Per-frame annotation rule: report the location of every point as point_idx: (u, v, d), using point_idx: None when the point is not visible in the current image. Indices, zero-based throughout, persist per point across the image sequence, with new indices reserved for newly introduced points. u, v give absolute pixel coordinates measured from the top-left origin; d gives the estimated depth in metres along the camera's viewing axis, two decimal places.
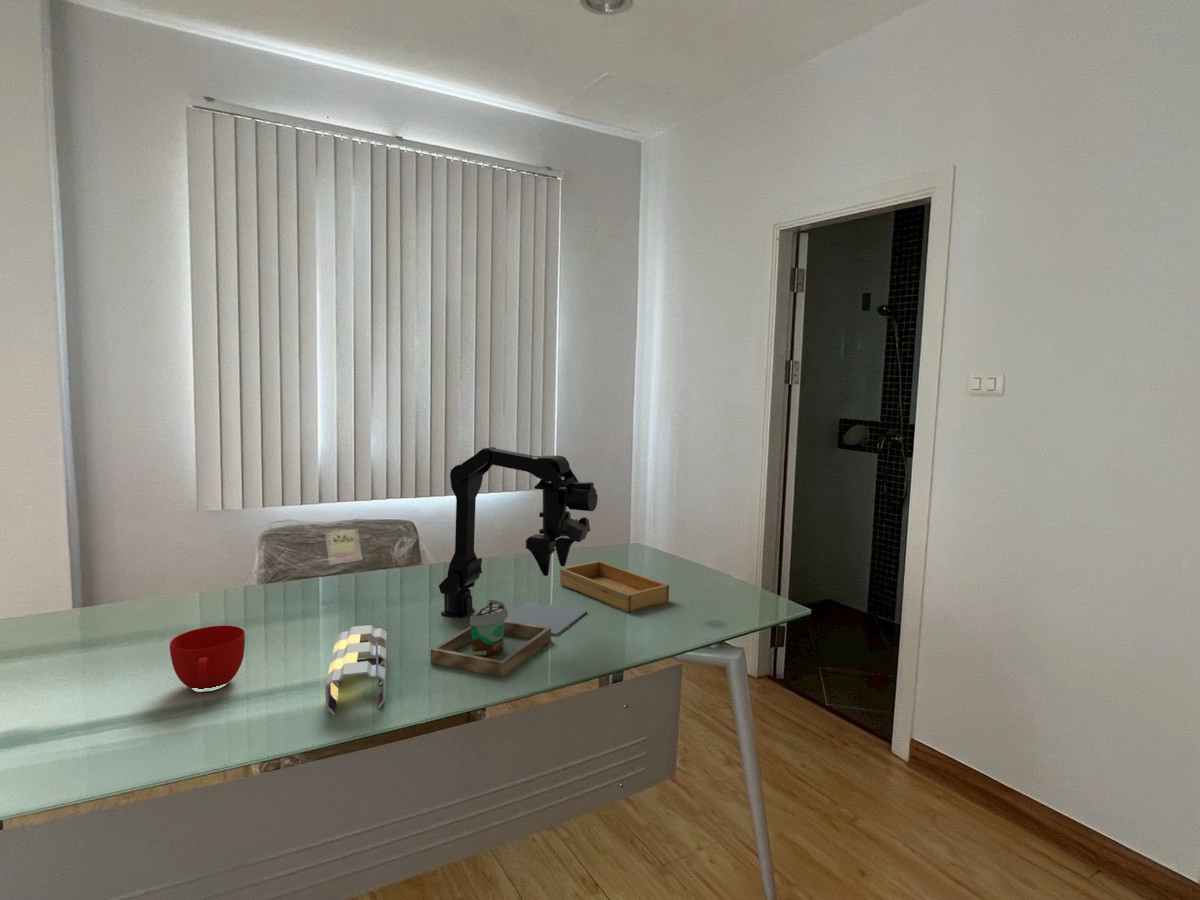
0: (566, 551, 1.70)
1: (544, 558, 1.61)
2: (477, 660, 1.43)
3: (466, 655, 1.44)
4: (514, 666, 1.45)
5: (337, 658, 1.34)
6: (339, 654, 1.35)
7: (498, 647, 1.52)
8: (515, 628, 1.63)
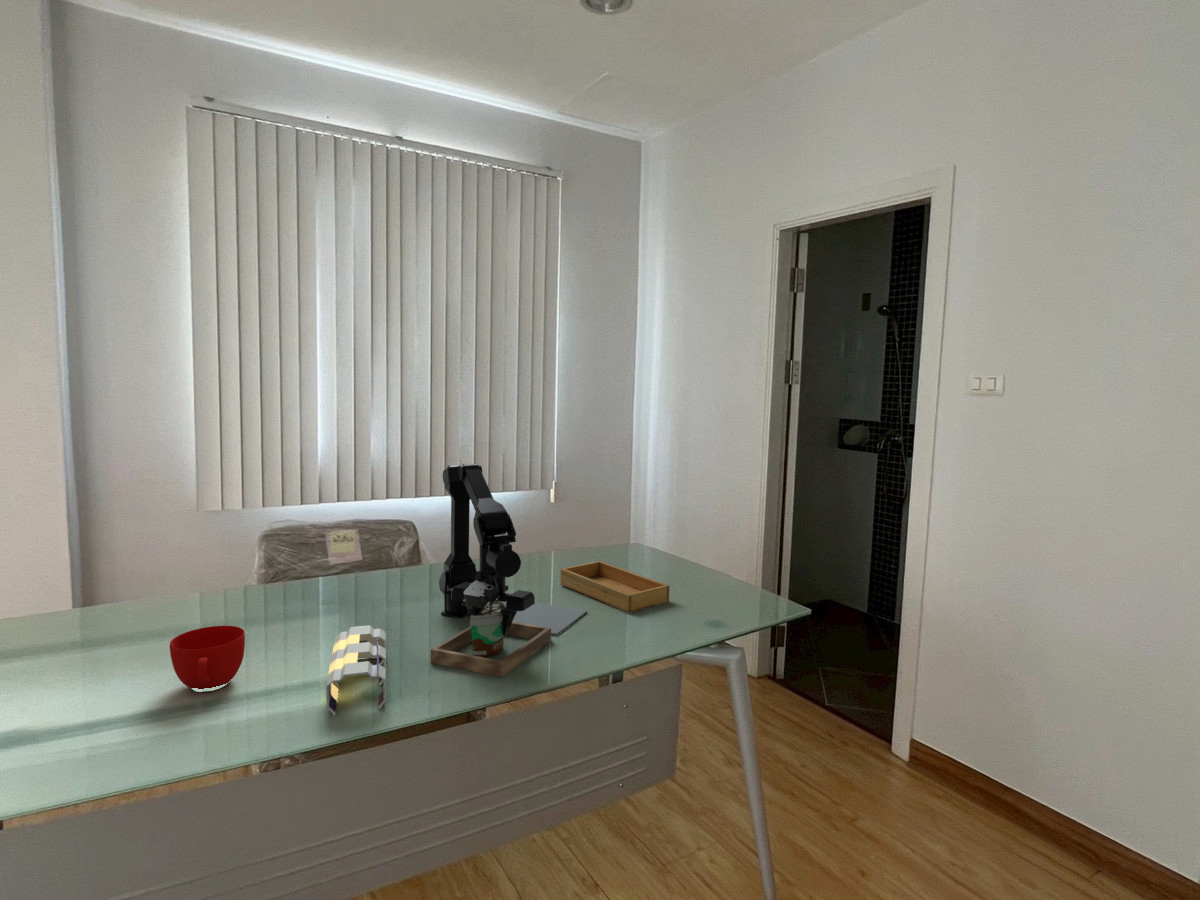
0: None
1: None
2: (477, 660, 1.43)
3: (466, 655, 1.44)
4: (514, 666, 1.45)
5: (337, 658, 1.33)
6: (339, 654, 1.35)
7: (498, 647, 1.52)
8: (515, 628, 1.63)
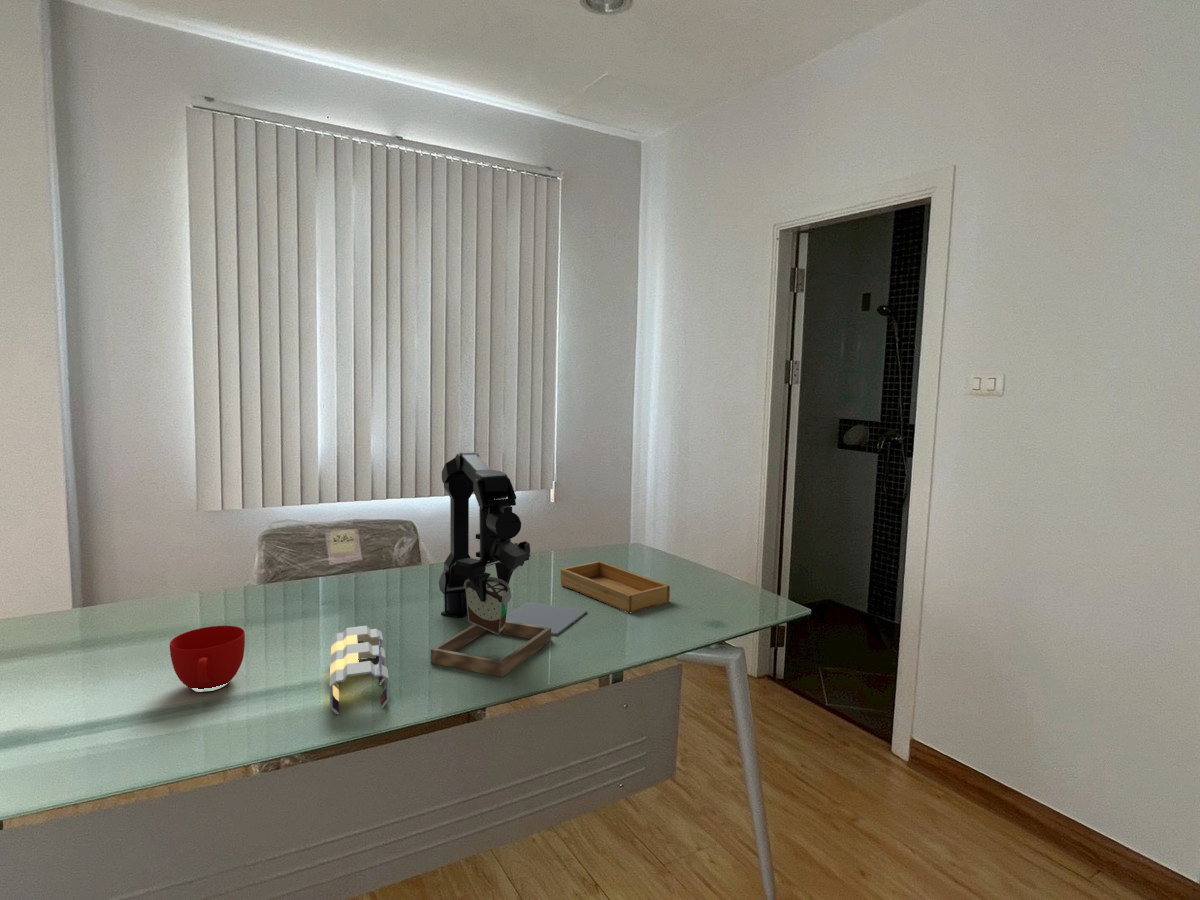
0: (506, 578, 1.55)
1: (479, 583, 1.49)
2: (477, 660, 1.43)
3: (466, 655, 1.44)
4: (514, 666, 1.45)
5: (337, 659, 1.33)
6: (338, 655, 1.35)
7: None
8: (515, 628, 1.63)
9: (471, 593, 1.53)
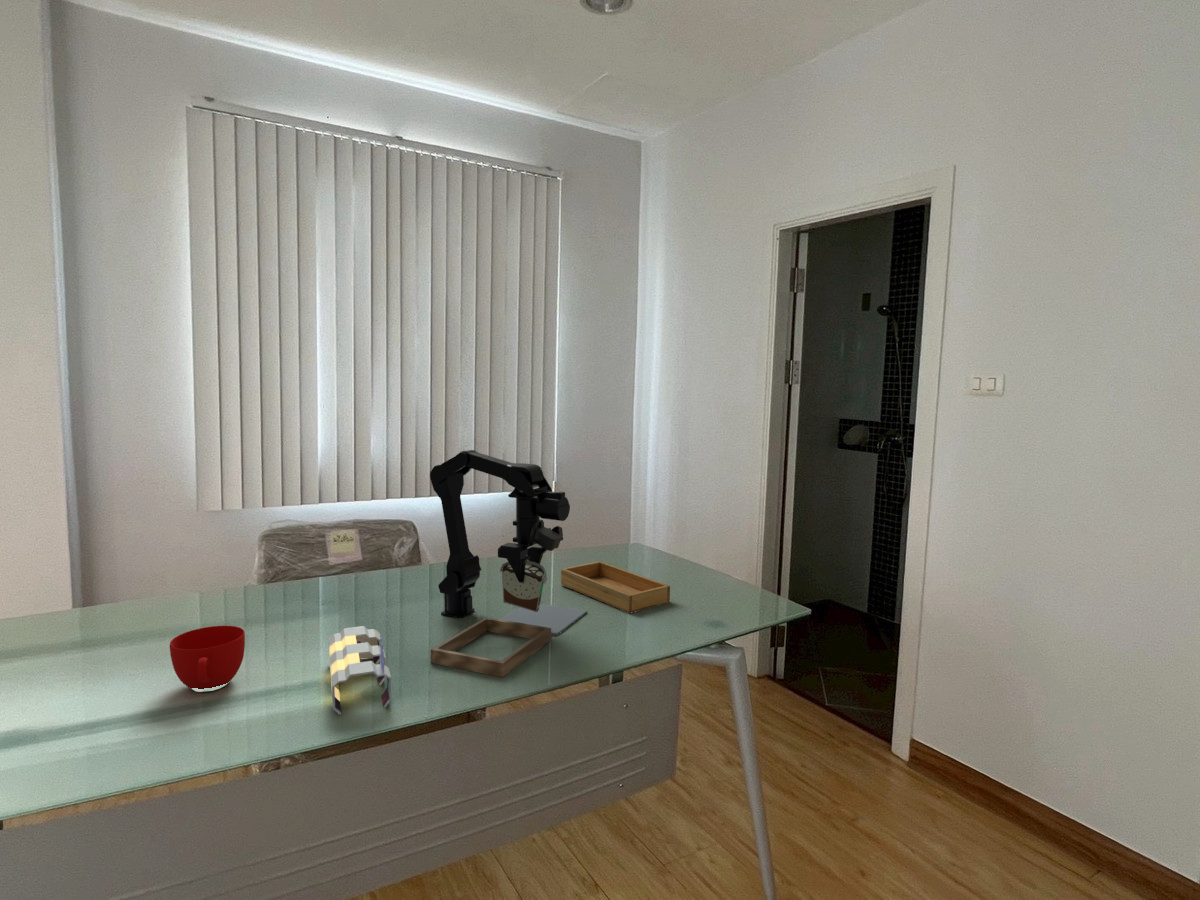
0: (538, 560, 1.70)
1: (519, 565, 1.63)
2: (477, 660, 1.43)
3: (466, 655, 1.44)
4: (514, 666, 1.45)
5: (337, 659, 1.33)
6: (338, 655, 1.35)
7: None
8: (515, 628, 1.63)
9: (508, 575, 1.67)
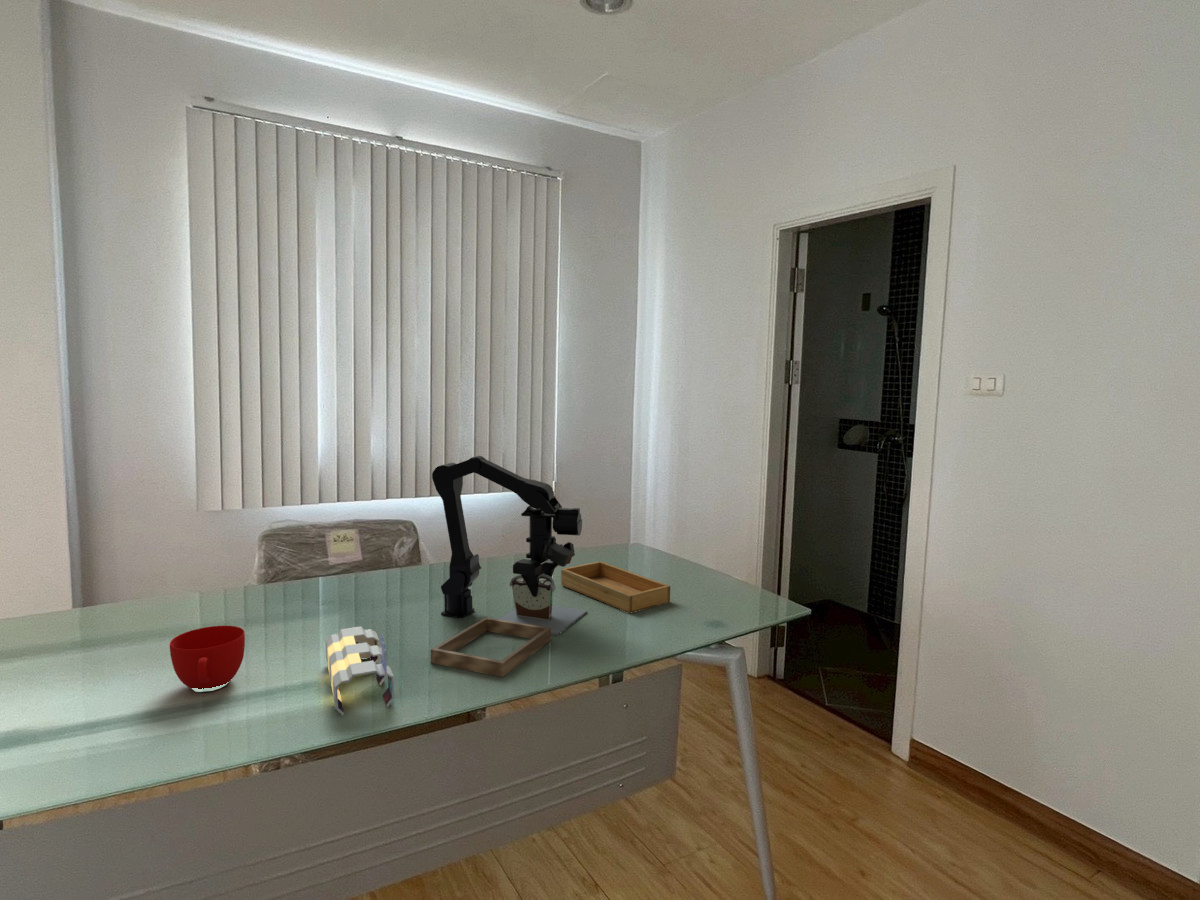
0: (549, 575, 1.77)
1: (533, 580, 1.70)
2: (477, 660, 1.43)
3: (466, 655, 1.44)
4: (514, 666, 1.45)
5: (338, 660, 1.33)
6: (338, 656, 1.35)
7: None
8: (515, 628, 1.63)
9: (518, 589, 1.74)
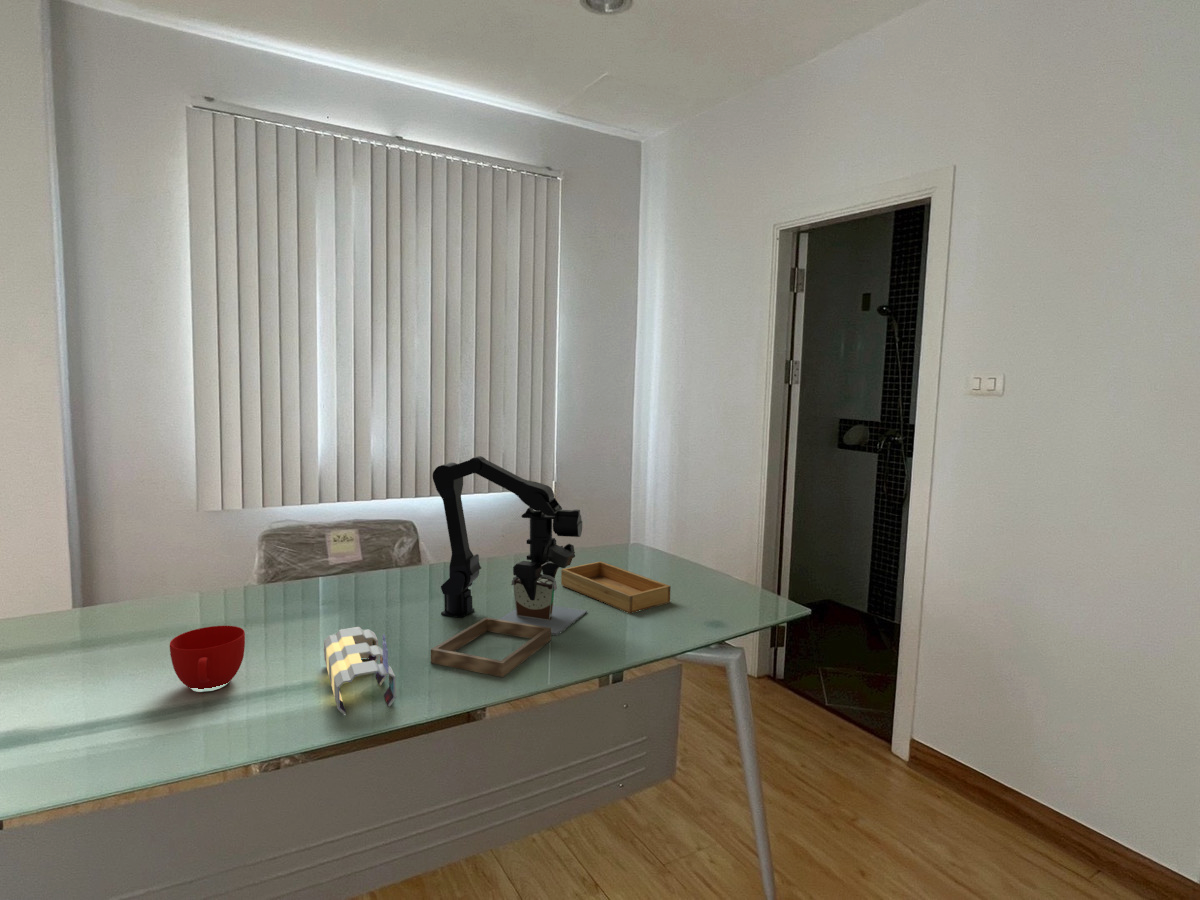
0: (552, 575, 1.78)
1: (531, 583, 1.69)
2: (477, 660, 1.43)
3: (466, 655, 1.44)
4: (514, 666, 1.45)
5: (338, 660, 1.33)
6: (338, 656, 1.34)
7: None
8: (515, 628, 1.63)
9: (519, 588, 1.75)
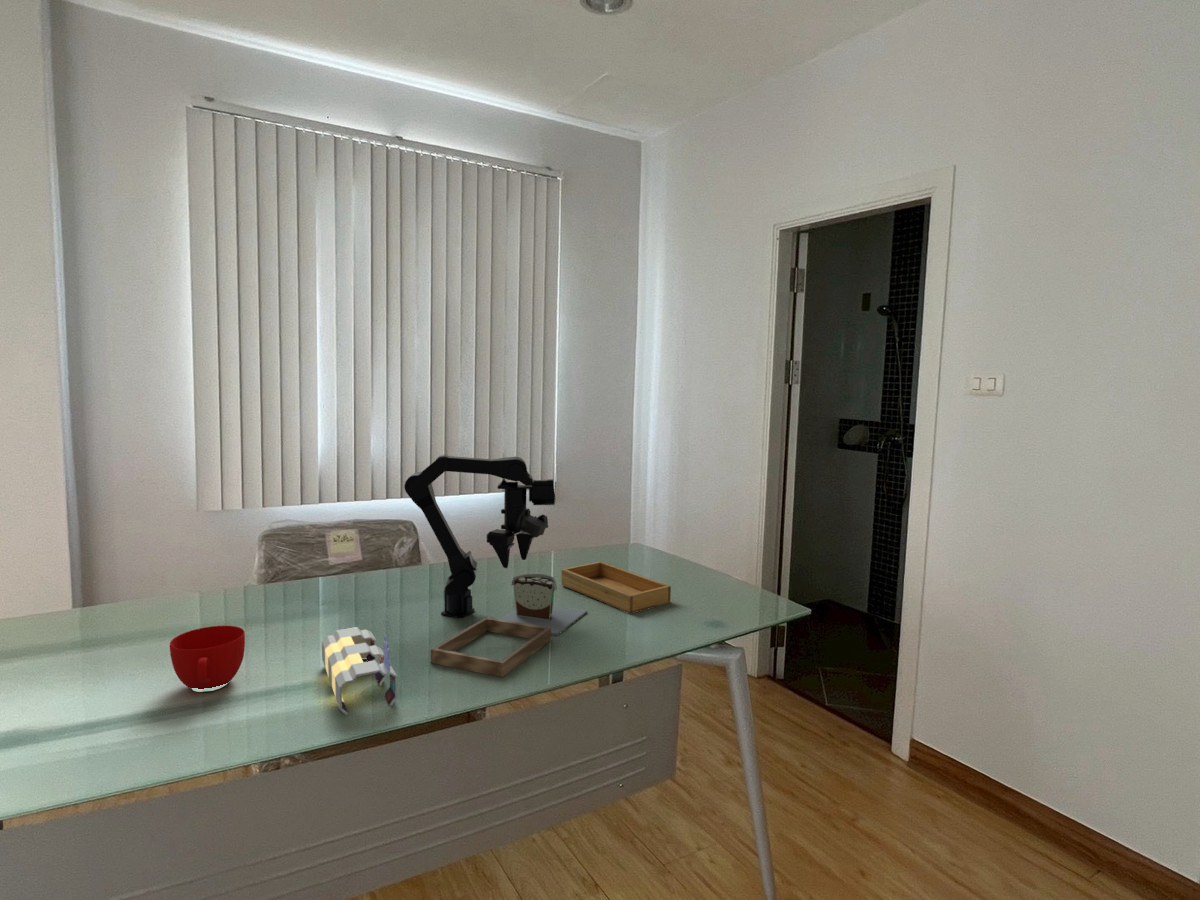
0: (527, 546, 1.83)
1: (504, 551, 1.74)
2: (477, 660, 1.43)
3: (466, 655, 1.44)
4: (514, 666, 1.45)
5: (338, 660, 1.32)
6: (338, 657, 1.34)
7: None
8: (515, 628, 1.63)
9: (519, 588, 1.75)
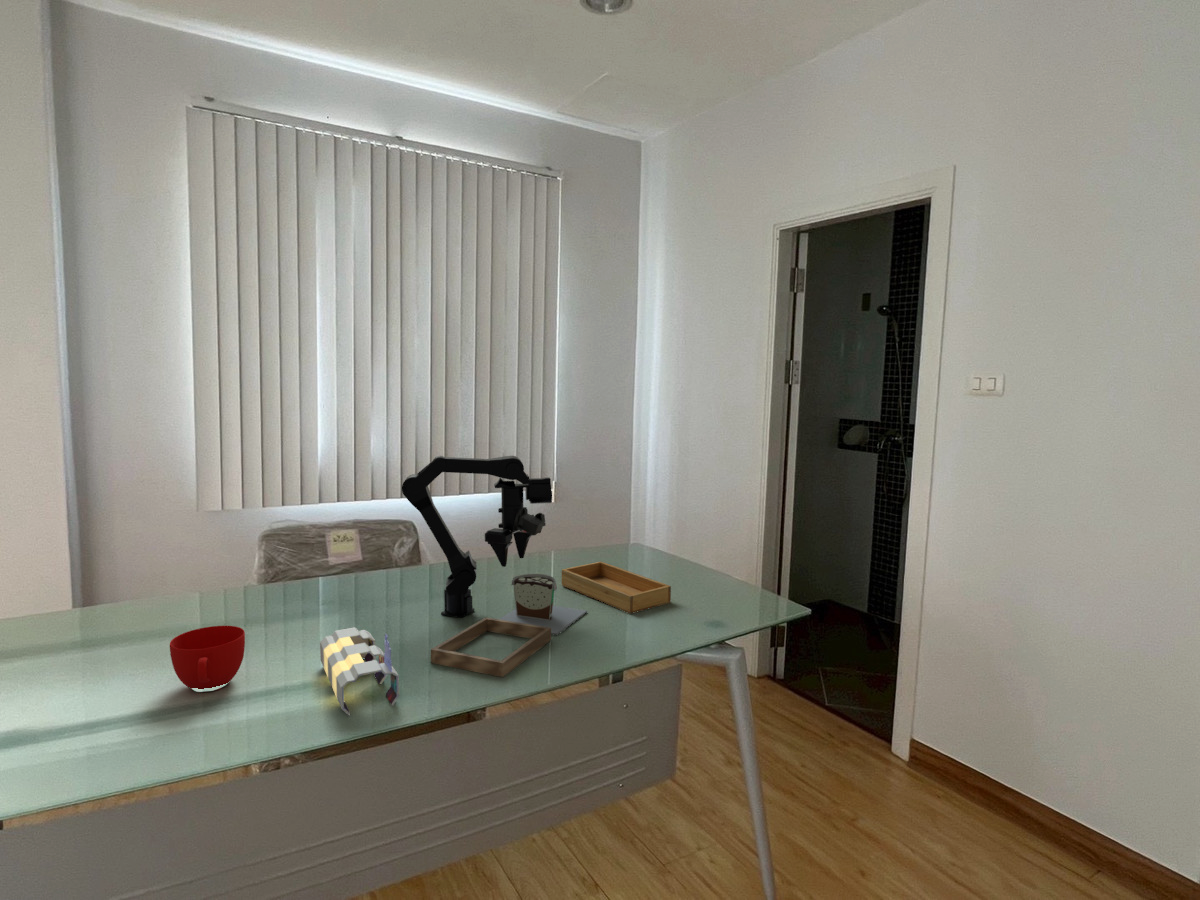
0: (524, 544, 1.84)
1: (502, 550, 1.75)
2: (477, 660, 1.43)
3: (466, 655, 1.44)
4: (514, 666, 1.45)
5: (338, 661, 1.32)
6: (338, 657, 1.34)
7: None
8: (515, 628, 1.63)
9: (519, 588, 1.75)
